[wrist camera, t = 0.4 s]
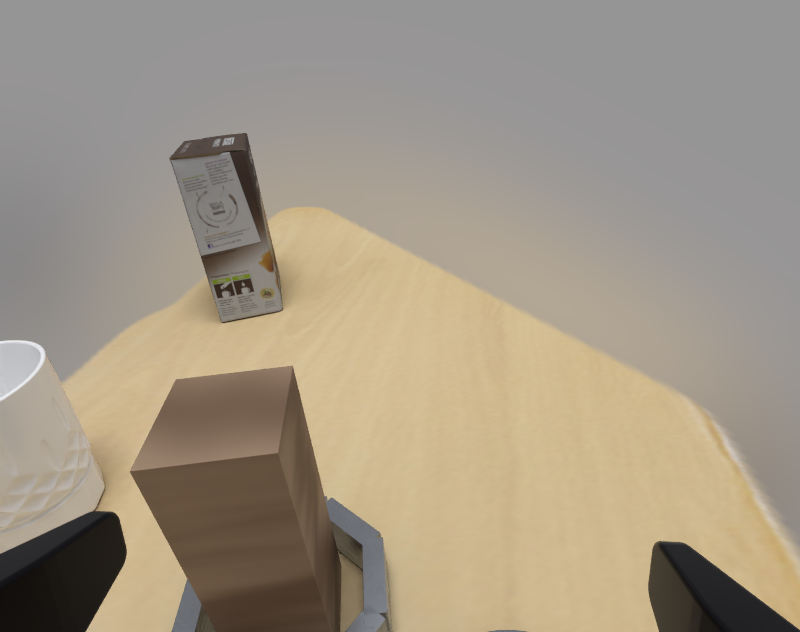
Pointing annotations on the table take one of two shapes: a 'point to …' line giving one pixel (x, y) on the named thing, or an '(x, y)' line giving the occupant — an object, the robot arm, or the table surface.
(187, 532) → the walnut peg
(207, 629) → the steel ring
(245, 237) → the coffee box
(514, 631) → the slate coaster
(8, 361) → the white cup
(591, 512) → the table surface
